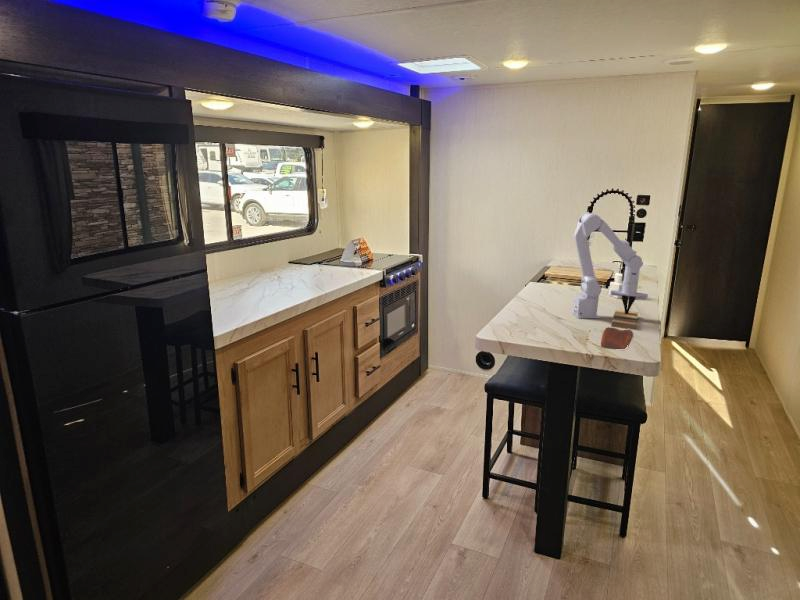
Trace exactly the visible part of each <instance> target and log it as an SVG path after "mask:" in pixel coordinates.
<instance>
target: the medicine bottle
mask: <svg viewBox="0 0 800 600" xmlns="http://www.w3.org/2000/svg"><path fill="white" fill-rule="evenodd" d="M623 280H624V272H616V273H615V274H614V281H610V283H609V289H608V290H609V291H608V296H609V297H612V298H615V299H622V296H615V295H613V296H612V295H610V294H611V290H616V291H622V288H623ZM628 299H629V297H628Z"/></svg>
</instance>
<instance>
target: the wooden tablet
mask: <svg viewBox="0 0 800 600" xmlns="http://www.w3.org/2000/svg"><path fill="white" fill-rule="evenodd" d="M632 333H633V332H632V329H618V328H617V327H616V328H615V327H610V326H609V327H608V326H607V327H606V328H605V329H604V331H603V332H602V335H601V341H600V347H601V348H603V349H608V350H609V349H610V350H616V349H625V348H626V347H627V345H628V343H629V344H630V341H631V337H632ZM628 346H629V345H628Z"/></svg>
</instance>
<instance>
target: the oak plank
mask: <svg viewBox="0 0 800 600" xmlns="http://www.w3.org/2000/svg"><path fill="white" fill-rule="evenodd" d="M638 313H639V312H638V311H632V310H631V311H630V310H629V313H628V314H625V309H624V310H623V309H615V311H614V314H613V316H622V317H629V318H637V319H638V315H639V314H638Z"/></svg>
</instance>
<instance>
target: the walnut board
mask: <svg viewBox="0 0 800 600" xmlns="http://www.w3.org/2000/svg"><path fill="white" fill-rule="evenodd" d="M637 321H638V317H637V318H629V317H622V316H614V315H613V318H612V320H611V325H610V326H611V327H612V328H615V327H616V328H622V329H628V328H630V329H629V330H636V329H637V328H636V327H637Z"/></svg>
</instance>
